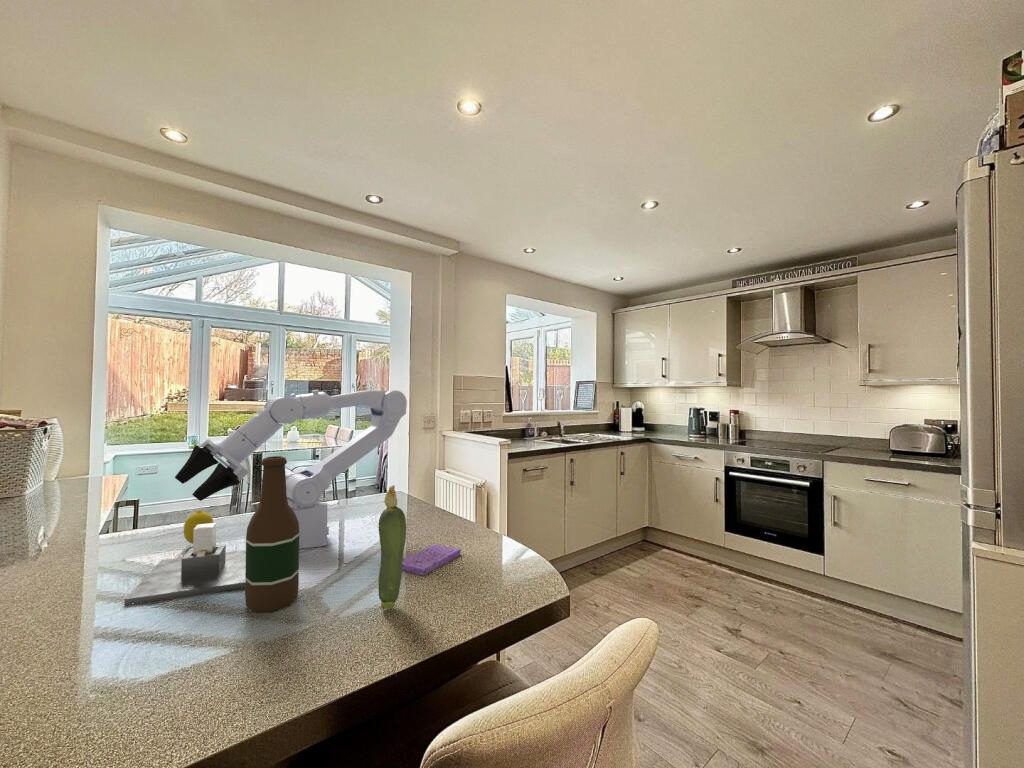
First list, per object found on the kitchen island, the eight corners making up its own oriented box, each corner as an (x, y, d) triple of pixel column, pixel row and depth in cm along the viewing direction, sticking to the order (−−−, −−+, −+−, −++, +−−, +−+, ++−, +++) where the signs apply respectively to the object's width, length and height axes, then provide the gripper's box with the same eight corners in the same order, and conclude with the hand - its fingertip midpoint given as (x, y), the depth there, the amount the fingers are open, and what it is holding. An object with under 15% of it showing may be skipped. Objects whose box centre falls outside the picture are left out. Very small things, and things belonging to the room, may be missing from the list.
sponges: (395, 571, 88) (395, 561, 88) (435, 550, 99) (435, 542, 99) (423, 578, 84) (423, 568, 84) (461, 556, 95) (461, 547, 95)
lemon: (219, 542, 102) (220, 507, 102) (200, 551, 96) (200, 514, 96) (197, 541, 102) (197, 506, 103) (176, 550, 97) (177, 513, 97)
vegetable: (381, 601, 74) (382, 481, 74) (407, 600, 74) (408, 480, 75) (375, 614, 70) (376, 486, 70) (403, 613, 70) (404, 486, 70)
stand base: (264, 552, 96) (264, 528, 96) (251, 586, 79) (252, 558, 79) (161, 564, 89) (162, 539, 89) (124, 605, 72) (125, 573, 72)
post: (215, 564, 86) (216, 522, 86) (212, 570, 83) (212, 527, 83) (196, 566, 85) (197, 524, 85) (192, 572, 82) (192, 529, 82)
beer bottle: (308, 596, 76) (310, 455, 76) (270, 618, 68) (272, 462, 69) (273, 589, 78) (275, 453, 79) (233, 609, 71) (235, 459, 71)
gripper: (218, 415, 95) (156, 462, 88) (254, 442, 88) (190, 495, 81) (237, 434, 100) (181, 481, 93) (273, 461, 93) (215, 513, 86)
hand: (187, 489), depth 87 cm, fingers open, 7 cm apart
